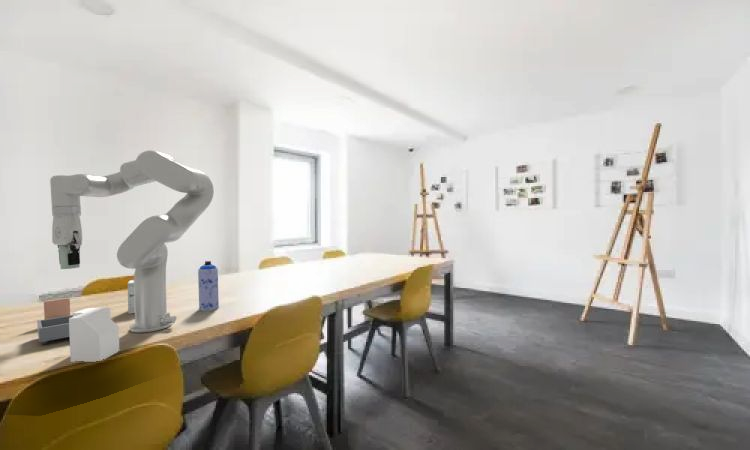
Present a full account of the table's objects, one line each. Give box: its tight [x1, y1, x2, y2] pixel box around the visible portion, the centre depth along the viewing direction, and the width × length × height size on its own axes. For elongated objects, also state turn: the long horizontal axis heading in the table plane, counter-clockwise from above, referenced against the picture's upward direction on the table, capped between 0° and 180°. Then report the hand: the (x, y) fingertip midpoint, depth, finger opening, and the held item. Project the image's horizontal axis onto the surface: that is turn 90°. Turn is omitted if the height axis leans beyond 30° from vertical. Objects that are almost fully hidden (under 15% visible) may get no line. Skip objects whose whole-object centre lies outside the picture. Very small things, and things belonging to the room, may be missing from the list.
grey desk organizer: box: [36, 297, 73, 345], centre depth 121 cm, size 27×12×9 cm, turn 46°
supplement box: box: [127, 279, 135, 315], centre depth 147 cm, size 7×7×13 cm
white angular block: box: [69, 307, 120, 363], centre depth 102 cm, size 11×11×12 cm
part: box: [58, 245, 81, 270], centre depth 123 cm, size 5×5×8 cm
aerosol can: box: [197, 260, 220, 312], centre depth 149 cm, size 8×8×20 cm
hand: (69, 263), depth 123 cm, fingers closed on part, 5 cm apart
